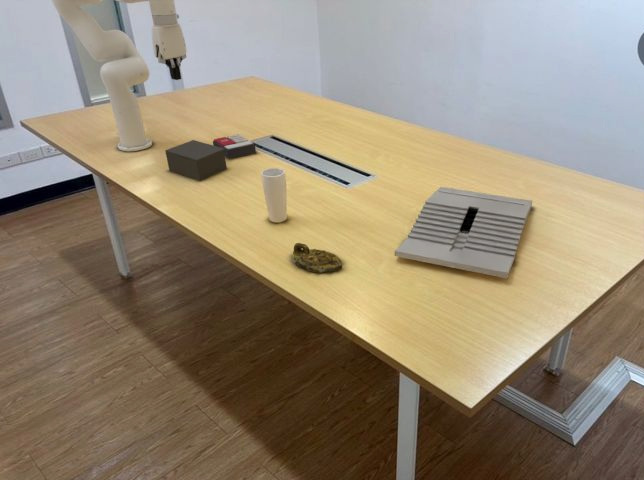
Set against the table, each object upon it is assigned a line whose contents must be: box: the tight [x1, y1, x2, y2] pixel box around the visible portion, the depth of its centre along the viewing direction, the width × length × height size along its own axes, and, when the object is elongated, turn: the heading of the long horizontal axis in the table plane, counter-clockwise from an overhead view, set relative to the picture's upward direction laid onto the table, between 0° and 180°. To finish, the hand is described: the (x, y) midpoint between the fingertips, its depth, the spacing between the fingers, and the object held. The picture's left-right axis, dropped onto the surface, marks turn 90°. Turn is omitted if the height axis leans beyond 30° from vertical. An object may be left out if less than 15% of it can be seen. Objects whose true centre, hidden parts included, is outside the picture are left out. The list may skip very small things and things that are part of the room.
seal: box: [292, 242, 343, 274], centre depth 144 cm, size 9×5×15 cm
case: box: [165, 151, 228, 182], centre depth 195 cm, size 16×13×7 cm
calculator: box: [212, 133, 257, 160], centre depth 211 cm, size 11×4×15 cm
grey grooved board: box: [394, 186, 533, 279], centre depth 157 cm, size 44×29×4 cm, turn 162°
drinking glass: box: [260, 167, 288, 224], centre depth 161 cm, size 7×7×15 cm
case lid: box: [164, 139, 225, 162], centre depth 192 cm, size 16×13×1 cm
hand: (176, 79), depth 188 cm, fingers closed
